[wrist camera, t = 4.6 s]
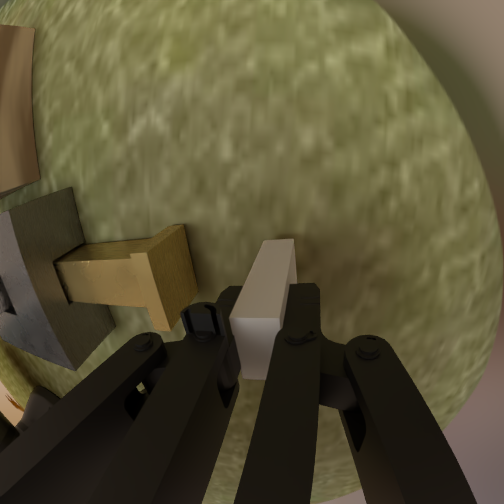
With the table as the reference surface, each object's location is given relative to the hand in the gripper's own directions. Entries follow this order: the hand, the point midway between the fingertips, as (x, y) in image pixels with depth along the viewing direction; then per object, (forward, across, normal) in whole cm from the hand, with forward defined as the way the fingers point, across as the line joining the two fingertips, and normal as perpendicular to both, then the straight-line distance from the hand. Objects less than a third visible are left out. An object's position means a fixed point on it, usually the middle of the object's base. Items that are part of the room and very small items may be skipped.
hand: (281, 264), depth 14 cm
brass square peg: (+1, -11, 0) cm, 11 cm away
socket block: (+2, -22, 0) cm, 22 cm away
